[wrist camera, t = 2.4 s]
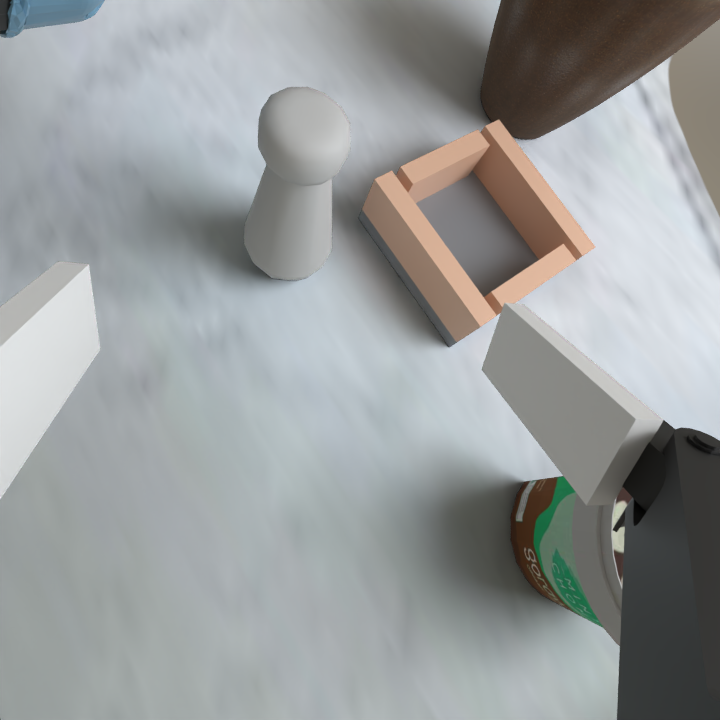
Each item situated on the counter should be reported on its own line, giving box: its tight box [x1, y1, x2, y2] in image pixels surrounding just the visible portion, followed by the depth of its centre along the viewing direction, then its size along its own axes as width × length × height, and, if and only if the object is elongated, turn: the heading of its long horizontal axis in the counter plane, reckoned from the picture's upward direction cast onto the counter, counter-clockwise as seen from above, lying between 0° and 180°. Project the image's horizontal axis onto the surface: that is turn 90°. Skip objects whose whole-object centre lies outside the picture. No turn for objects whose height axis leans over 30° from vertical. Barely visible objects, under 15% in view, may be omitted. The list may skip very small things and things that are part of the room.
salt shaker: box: [244, 87, 351, 281], centre depth 26 cm, size 6×6×13 cm
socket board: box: [358, 120, 595, 347], centre depth 33 cm, size 12×12×5 cm
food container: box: [511, 476, 632, 646], centre depth 26 cm, size 12×6×10 cm, turn 46°
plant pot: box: [480, 0, 720, 139], centre depth 33 cm, size 15×15×16 cm
